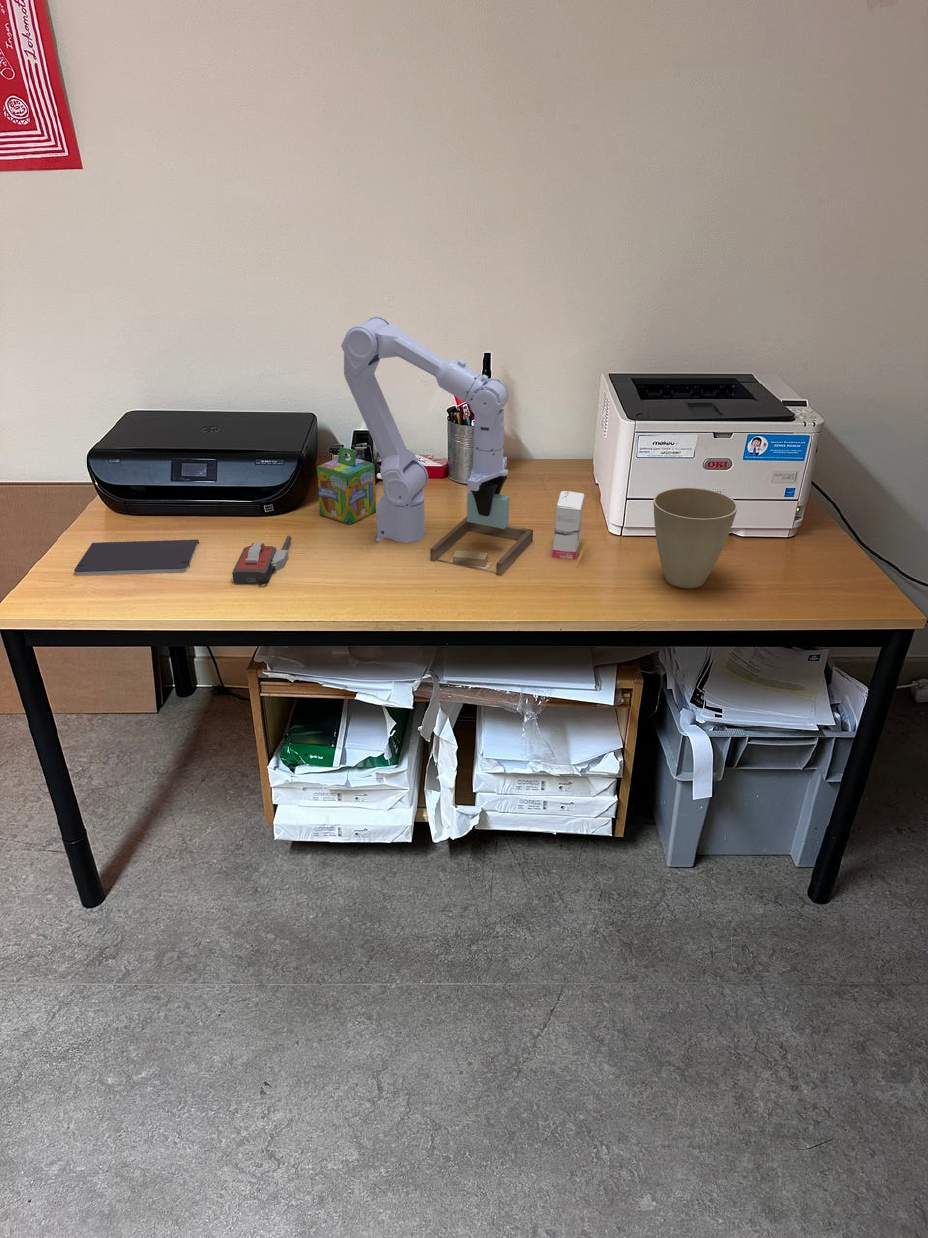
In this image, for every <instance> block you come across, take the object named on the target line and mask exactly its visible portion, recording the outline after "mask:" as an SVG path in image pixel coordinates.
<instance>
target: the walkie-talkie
mask: <svg viewBox="0 0 928 1238" xmlns="http://www.w3.org/2000/svg"><path fill="white" fill-rule="evenodd" d="M291 540H293V539H292V536H291V535H287V536H286V538H285V540H284V543H283V545H282V548H281V549H277V547H275V546H273V545H265V543H263V542H261V543H260V542H259V543H258V542H253V543H251V545H247V546H246V547H244V548H243V550H242V551H241V553H240V556H239V557H238V559H237V562H236V564H235V565H234V567H233V570H232V572H231V573H232V580H233V584H235V585H237V586H238V585H241V586H242V585H244V586H245V585H250V586H252V585H253V586H254V585H257V586H259V585H261V586H262V585H263V586H264V585H266V584H268V583H269V581H270V578H271V577H272V574H273V573H275V572H278V571H280V570H281V569H282V570H283V569H284V568H285V566H286V563H287V561H288V560H289V550H288V549H289V547H290V543H291Z"/></svg>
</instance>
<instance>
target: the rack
mask: <svg viewBox="0 0 928 1238" xmlns="http://www.w3.org/2000/svg"><path fill="white" fill-rule="evenodd" d="M468 532H472V533H473V532H474V533H477V534H478V533H479V534H481V535H482V534H483V535H488V536H492V537H493V536H494V537H498V538H503V539H508V540H513V541H516V542H514V544H512V546H511V547H509V549H508V550H506V552H505V553H504V554H503V555H502V556H501V557H500V558H499V559H498V561H496V564H495V565H496V566H495V567H496V568H495V570H494V571H493V570H489V569H487V570H485V569H480V568H476V567H471V566H467V565H460V564H453V562H449V561H448V560H443V559H439V558H441V557H442V556H443V554H445V553H446V552H447V551H448V550H449V549H450V548H452V547H453V546H454V545H455V544H456V543H457V542H458V541H459V540H460V539H461V538H462V537H464V536H465V534H467V533H468ZM533 540H534V529H532V528H531V529H530V528H526V527H522V526H521V527H520V526H515V525H510V524H508V525H507V526H506V527H505V528H504V529H501V528H496V527H491V526H486V525H481V524H476V523H471V522H467V516H466V517H464V518H463V519H462V520H461V521H460V522H459V523H458V524H457V525H455V526H454V527H453V528H452V529H451V530H450V531H449V532H448V533H446V534H445V535H444V536H443V537H442V538H441V539H439V540H438V541H437V542H436V543H435V544H434V545H433V546H432V547H430V551H429V552H430V553H429V555H430V561H431V562H439V563H443V564H448V565H449V564H450V565H453V566H457V567H464V568H467V569H473V570H477V571H482V572H485V573H486V572H487V573H490V574H491V573H492V574H495V575H496V576H499V577H500V576H502V575H503V574H505V572H506V571H507V570H508V569H509V568H510V567H511V566H512V565H513V564H514V562H515V561H516V560H517V559H518V558H519V557H520V556H521V554H523V552H524V551H525V550H526V549H527V548H528V547H529V546H530V545H531V544H532V543H533Z"/></svg>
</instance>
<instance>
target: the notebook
mask: <svg viewBox="0 0 928 1238" xmlns="http://www.w3.org/2000/svg"><path fill="white" fill-rule="evenodd" d="M197 545H200V540H199V539H172V540H169V539H167V540H142V541H141V540H139V541H138V540H137V541H109V542H108V541H106V542H105V541H103V542H102V541H101V542H98V541H97V542H91V544H90V546H89V547H88V548H87V550H86V551H85V553H84V554H83V556H82V557H81V559H80V560H79V562H78V563H77V565H76V566H75V568H74V569H73V571H74V572H75V573H76V575H77V576H81V577H83V576H109V575H111V576H112V575H113V576H114V575H138V574H140V575H141V574H142V575H144V574H147V575H148V574H170V573H171V574H174V573H185V572H187V571H188V569H189V568H190V567H191V565H190V564H191V563H192V559H193V557H194V555H195V552H196V550H197V548H198V546H197Z"/></svg>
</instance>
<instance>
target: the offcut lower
mask: <svg viewBox="0 0 928 1238" xmlns="http://www.w3.org/2000/svg"><path fill="white" fill-rule="evenodd" d="M448 562H453V557H452V558H451V559H450V560H449V561H448ZM493 564H494V563H493V562H490V561H487V563H486V566H485V567H482V566H471V565H467V566H471V567H476V568H480V569H485V570H489V568H490V567H491V566H492V565H493Z"/></svg>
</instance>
